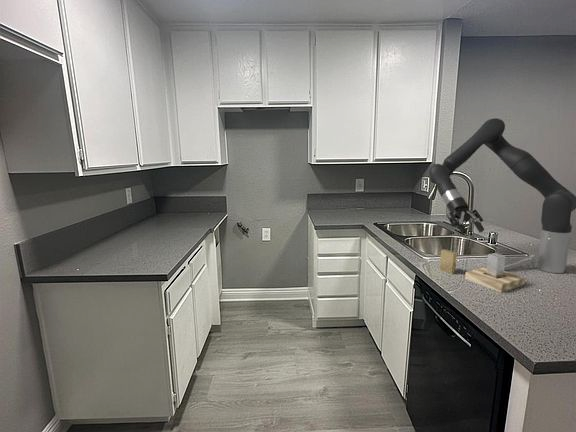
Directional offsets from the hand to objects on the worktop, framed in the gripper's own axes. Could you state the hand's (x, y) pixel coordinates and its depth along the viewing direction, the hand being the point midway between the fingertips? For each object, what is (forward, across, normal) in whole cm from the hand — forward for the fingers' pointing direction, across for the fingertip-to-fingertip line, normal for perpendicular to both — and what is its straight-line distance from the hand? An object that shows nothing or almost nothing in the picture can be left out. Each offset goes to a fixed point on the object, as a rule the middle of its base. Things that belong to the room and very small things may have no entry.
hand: (473, 232), depth 128 cm
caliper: (+15, -18, -10) cm, 26 cm away
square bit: (+20, 0, -4) cm, 21 cm away
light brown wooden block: (+10, +9, -15) cm, 20 cm away
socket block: (+20, 0, -4) cm, 21 cm away
